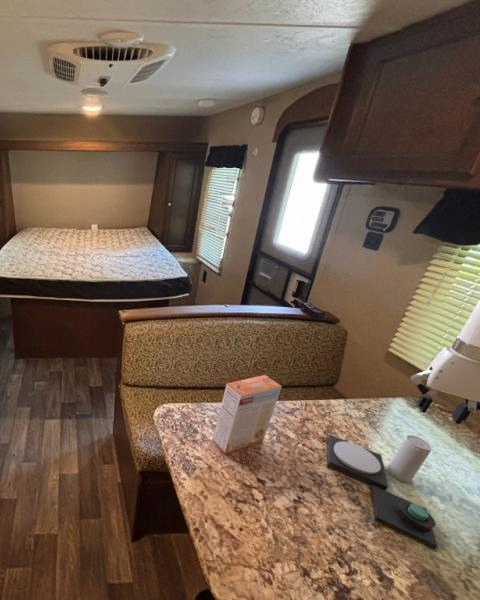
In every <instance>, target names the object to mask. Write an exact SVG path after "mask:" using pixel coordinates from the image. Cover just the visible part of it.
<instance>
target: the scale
mask: <svg viewBox="0 0 480 600" xmlns="http://www.w3.org/2000/svg"><path fill="white" fill-rule="evenodd" d="M383 461H384V460H383V457H382V454H380V453H378V452H375V451H372V450H370V449H368V448H365V447H362V446H360V445H358V444H356V443H354V442H353V443H352V442H350V441H347V440H345V439H342V438H340V437H337V436H334V435H332V434H328V436H327V438H326V467H327V468H329V469H330V470H331V469H332V470H334V471H336V472H338V473H341V474H343V475H345V476H347V477H349V478H352V479H354V480H357V481H358V482H361V483H362V484H365V485H368V486H370V487H371V486H372V485H373V486H376V487H378V488H380V489H382V490H385V491H387V489H388V488H389V486H388V482H387V477H386V471H385V467H384V462H383Z"/></svg>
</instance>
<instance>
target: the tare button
mask: <svg viewBox="0 0 480 600" xmlns="http://www.w3.org/2000/svg"><path fill="white" fill-rule="evenodd" d="M416 504H417V503H414V504H411V505H410V506H409V508H408V509H407V510H408V513H409V514H410V515H411V516H413V517H414V518H415V519H417V520H419V521H425V520H426V519H427V517H428V513H429V512H428V510H427V511H426V510H425V509H423V508H422V507H423V506H421V505H419V504H417V505H416ZM420 506H421V507H420ZM427 512H428V513H427Z"/></svg>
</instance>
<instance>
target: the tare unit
mask: <svg viewBox="0 0 480 600" xmlns="http://www.w3.org/2000/svg"><path fill="white" fill-rule="evenodd" d="M369 492H370V498H371V506H372V511H373V518H374V521H375V522H376V523H379V524H380V525H383V526H384V527H386V528H389V529H391V530H393V531H395V532H397V533H400V534H401V535H403V536H404V537H405V536H406V537H407V538H410V539H412V540H413V541H416V542H418V543H420V544H423V545H424V546H427V547H428V548H430V549H433V550H436V549H437V547H438V541H437V539H436V536H435V533H434V528H435V527H436V525H437V524H436V520H435V518H434V517H433V516H432V515H431V514H430V513H429V512H428V510H427V508H426V507H423V506H421V505H419V506H420V507H422V508H423V509H425V510H426V511H427V513H428V517H427V519H426V520H425V521H419V520H417V519H415V518H414V517H413V516H411V515H410V514H409V513H408V510H407V509H408V508H409V506H410V505H411V504H416V505H418V504H417V503H414V502H412V501H410V500H407V499H405V498H403V497H401V496H398V495H396V494H394V493H392V492H390V491H387V490H386V491H385V490H382V489H380V488H378V487H376V486H373V485H372V486H370V488H369Z"/></svg>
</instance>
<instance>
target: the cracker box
mask: <svg viewBox="0 0 480 600" xmlns="http://www.w3.org/2000/svg"><path fill="white" fill-rule="evenodd" d="M282 387H283V386H282V385H281V384H279V383H278V382H276V381H274V380H273V379H272V378H270V377H269V376H267V375H266V374H263V375H259V376H254V377H250V378H246V379H242V380H237V381H232V382H228V383H226V384H225V388H224V392H223V397H222V400H221V403H220V408H219V412H218V416H217V420H216V424H215V427H214V431H213V435H212V441H213V442H214V443H215V444H216V445H217V446H218V448H219V449H220V450H221V451H222V452H223V453H224V455H227V454H231V453H234V452H238V451H240V450H243V449H247V448H250V447H253V446H256V445H259V444H262V443H263V442H264V440H265V436H266V434H267V430H268V428H269V425H270V422H271V419H272V417H273V413H274V410H275V408H276V405H277V402H278V399H279V396H280V393H281V390H282Z"/></svg>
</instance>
